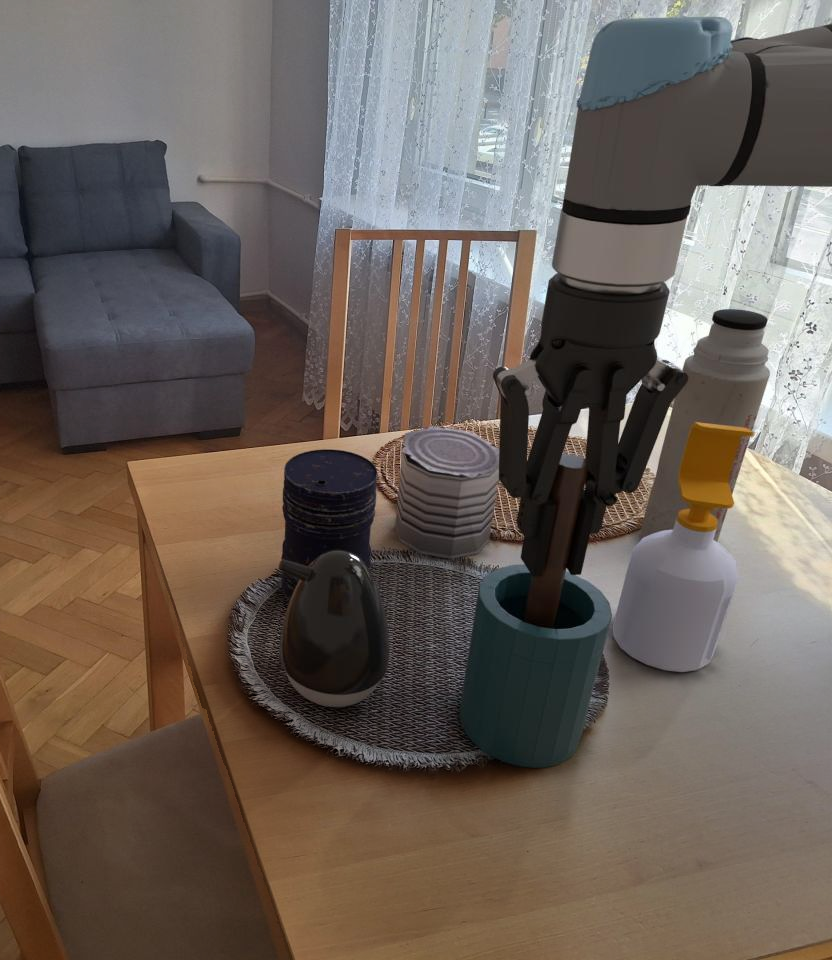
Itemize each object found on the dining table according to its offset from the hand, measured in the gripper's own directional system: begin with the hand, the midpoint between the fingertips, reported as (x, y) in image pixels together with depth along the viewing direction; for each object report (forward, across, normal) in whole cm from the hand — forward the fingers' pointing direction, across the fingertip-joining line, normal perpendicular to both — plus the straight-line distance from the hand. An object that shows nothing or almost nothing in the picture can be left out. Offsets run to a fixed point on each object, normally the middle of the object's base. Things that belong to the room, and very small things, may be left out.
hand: (550, 565), depth 69 cm
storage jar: (+18, +14, -22) cm, 31 cm away
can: (+18, -2, -32) cm, 37 cm away
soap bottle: (+18, -18, -10) cm, 27 cm away
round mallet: (+15, 0, 0) cm, 15 cm away
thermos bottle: (+18, -29, -28) cm, 44 cm away
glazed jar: (+17, 0, 0) cm, 17 cm away
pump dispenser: (+18, +16, -6) cm, 24 cm away
